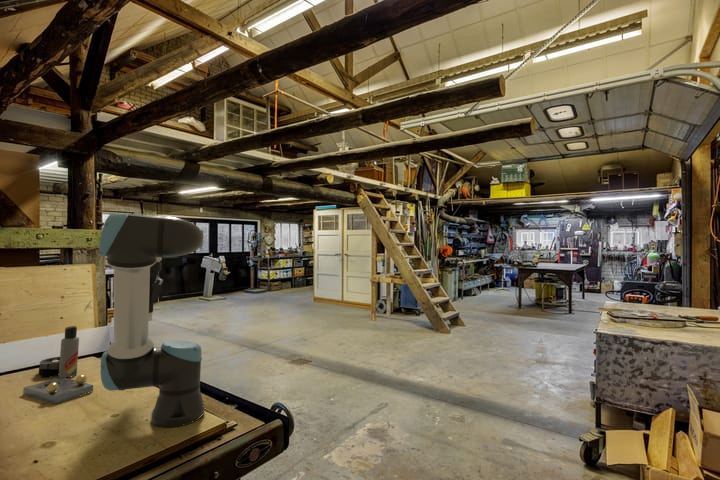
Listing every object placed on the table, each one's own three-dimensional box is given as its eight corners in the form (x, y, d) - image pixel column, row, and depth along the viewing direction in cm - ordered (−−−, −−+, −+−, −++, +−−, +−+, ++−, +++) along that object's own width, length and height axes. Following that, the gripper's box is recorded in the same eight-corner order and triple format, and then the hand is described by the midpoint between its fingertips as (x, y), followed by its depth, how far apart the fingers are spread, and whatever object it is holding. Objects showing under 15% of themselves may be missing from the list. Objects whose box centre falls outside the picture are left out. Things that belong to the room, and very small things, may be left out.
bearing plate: (92, 391, 131) (93, 384, 131) (54, 404, 120) (55, 396, 120) (61, 383, 137) (62, 377, 137) (23, 394, 126) (23, 387, 126)
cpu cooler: (68, 354, 156) (74, 359, 149) (67, 367, 156) (73, 373, 149) (37, 359, 148) (42, 364, 141) (36, 373, 148) (41, 379, 141)
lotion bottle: (79, 375, 146) (82, 326, 147) (61, 379, 141) (65, 328, 142) (73, 372, 149) (76, 324, 150) (56, 376, 144) (59, 326, 145)
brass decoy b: (60, 391, 124) (61, 382, 124) (49, 395, 121) (50, 385, 121) (54, 390, 125) (55, 380, 125) (43, 393, 122) (44, 383, 122)
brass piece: (88, 383, 132) (88, 374, 132) (78, 386, 129) (79, 377, 129) (82, 382, 133) (83, 373, 133) (73, 384, 130) (73, 375, 130)
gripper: (171, 261, 144) (167, 321, 143) (147, 260, 149) (144, 317, 148) (154, 262, 137) (150, 324, 136) (130, 260, 142) (126, 320, 141)
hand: (147, 320), depth 142 cm, fingers closed
